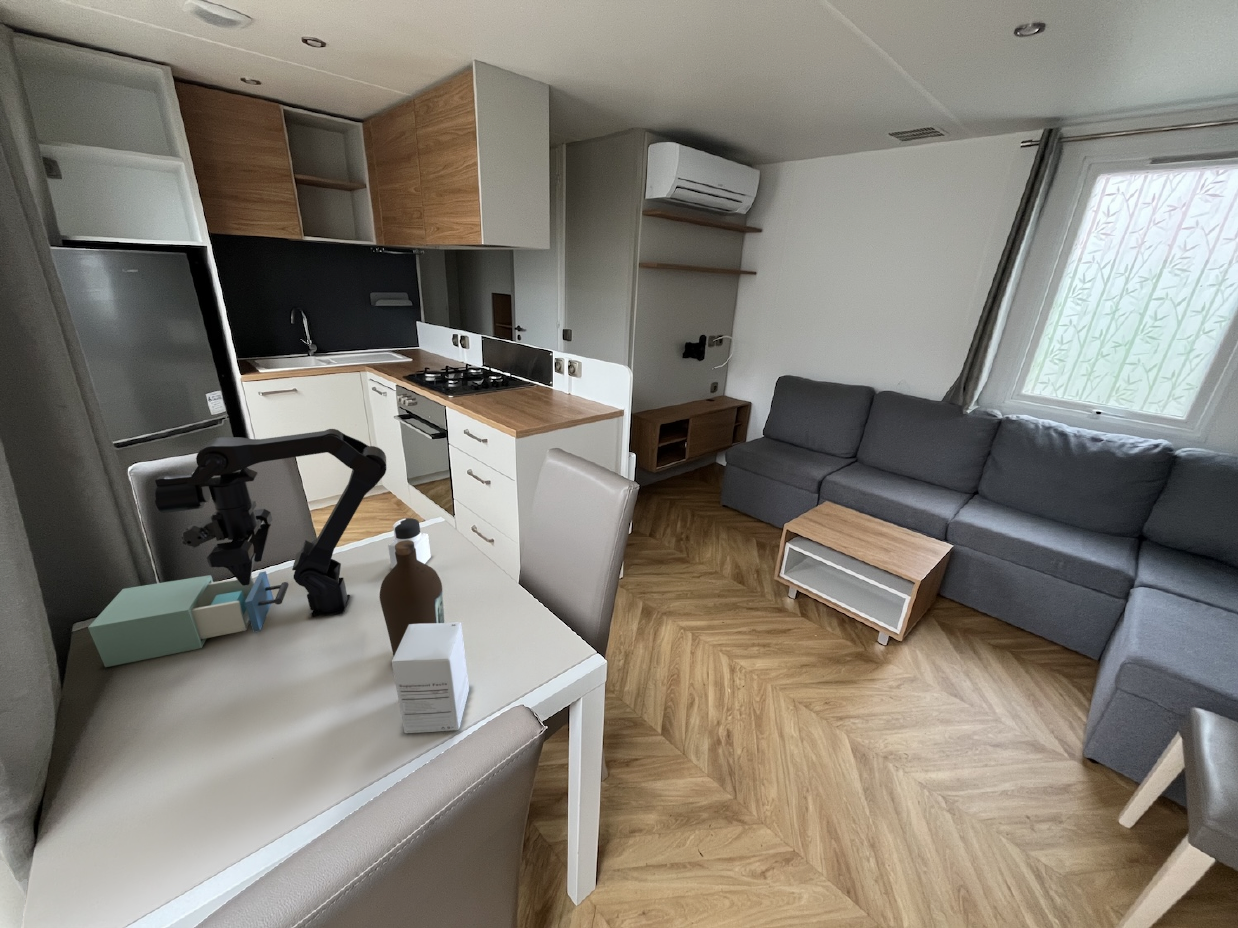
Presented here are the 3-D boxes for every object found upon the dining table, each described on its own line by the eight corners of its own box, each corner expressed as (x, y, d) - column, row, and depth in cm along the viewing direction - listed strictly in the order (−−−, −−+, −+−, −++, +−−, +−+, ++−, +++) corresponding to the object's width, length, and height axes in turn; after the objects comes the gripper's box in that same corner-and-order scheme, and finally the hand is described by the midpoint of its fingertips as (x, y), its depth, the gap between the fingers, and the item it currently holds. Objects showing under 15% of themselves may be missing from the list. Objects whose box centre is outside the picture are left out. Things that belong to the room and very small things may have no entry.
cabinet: (222, 610, 108) (211, 574, 104) (201, 648, 97) (188, 609, 94) (137, 625, 102) (122, 588, 99) (105, 667, 92) (87, 627, 88)
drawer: (295, 595, 112) (288, 567, 109) (284, 626, 102) (276, 596, 99) (199, 612, 106) (189, 583, 103) (177, 647, 96) (166, 616, 93)
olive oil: (389, 683, 89) (368, 564, 81) (393, 645, 99) (374, 534, 90) (451, 669, 93) (436, 554, 84) (449, 633, 102) (435, 526, 93)
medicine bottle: (431, 557, 130) (426, 516, 126) (418, 572, 123) (412, 529, 119) (405, 555, 130) (399, 514, 126) (391, 569, 124) (384, 527, 120)
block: (246, 607, 106) (241, 590, 104) (240, 620, 102) (235, 602, 100) (222, 612, 104) (216, 594, 102) (214, 625, 100) (209, 607, 99)
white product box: (418, 690, 88) (408, 622, 83) (470, 688, 89) (462, 620, 83) (402, 734, 79) (389, 661, 74) (459, 731, 80) (450, 658, 75)
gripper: (199, 490, 100) (219, 557, 106) (159, 531, 84) (185, 607, 90) (264, 483, 104) (280, 548, 110) (237, 521, 88) (258, 595, 94)
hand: (252, 572), depth 100 cm, fingers open, 9 cm apart
